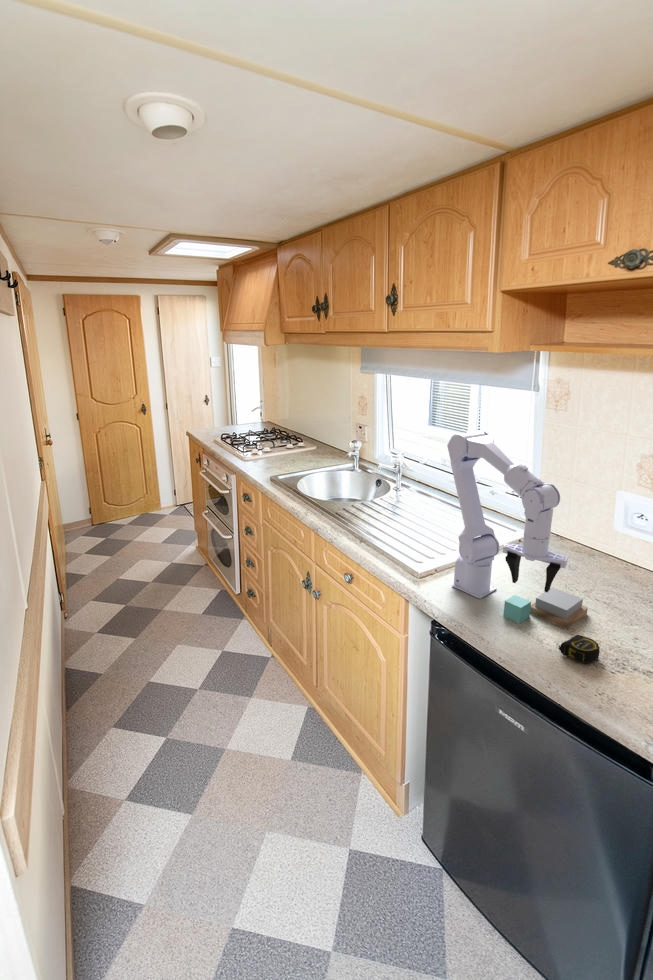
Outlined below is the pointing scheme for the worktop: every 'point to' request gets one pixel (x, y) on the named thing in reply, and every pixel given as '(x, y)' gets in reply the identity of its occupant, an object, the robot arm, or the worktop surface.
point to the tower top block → (559, 603)
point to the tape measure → (581, 649)
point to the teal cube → (517, 609)
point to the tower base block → (556, 619)
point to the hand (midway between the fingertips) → (530, 585)
